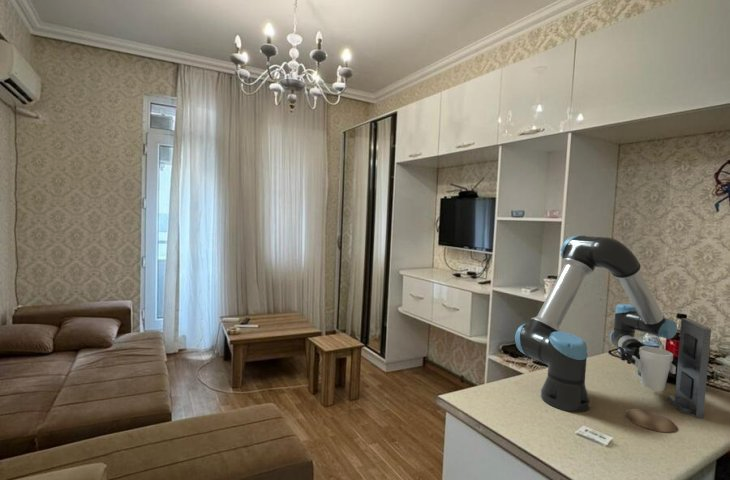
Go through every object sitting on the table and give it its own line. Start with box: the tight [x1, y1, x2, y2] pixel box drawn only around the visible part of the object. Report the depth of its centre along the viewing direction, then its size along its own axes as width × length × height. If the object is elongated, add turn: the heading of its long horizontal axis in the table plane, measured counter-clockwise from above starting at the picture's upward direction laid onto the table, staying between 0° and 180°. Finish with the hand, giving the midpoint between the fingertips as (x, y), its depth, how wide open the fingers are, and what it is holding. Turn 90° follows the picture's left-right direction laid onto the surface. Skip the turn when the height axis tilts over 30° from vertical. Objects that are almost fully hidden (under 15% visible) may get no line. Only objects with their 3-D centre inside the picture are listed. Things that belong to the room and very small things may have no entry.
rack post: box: [667, 317, 712, 419], centre depth 130 cm, size 5×14×30 cm, turn 163°
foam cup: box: [639, 345, 674, 392], centre depth 133 cm, size 10×9×13 cm
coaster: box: [625, 408, 677, 433], centre depth 121 cm, size 13×13×1 cm
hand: (657, 367), depth 132 cm, fingers closed on foam cup, 9 cm apart
